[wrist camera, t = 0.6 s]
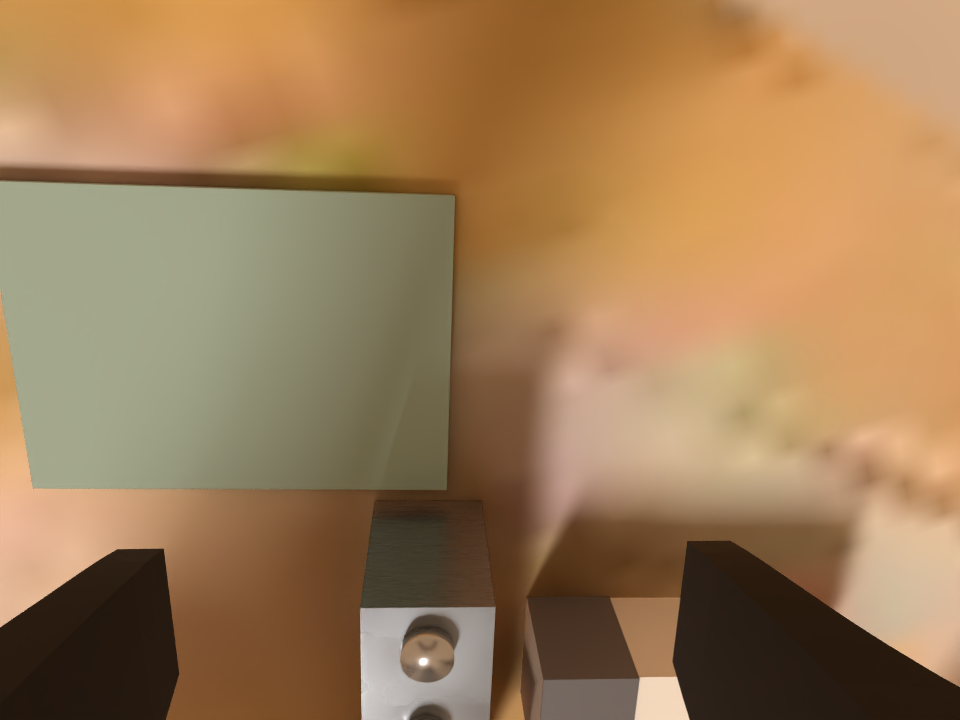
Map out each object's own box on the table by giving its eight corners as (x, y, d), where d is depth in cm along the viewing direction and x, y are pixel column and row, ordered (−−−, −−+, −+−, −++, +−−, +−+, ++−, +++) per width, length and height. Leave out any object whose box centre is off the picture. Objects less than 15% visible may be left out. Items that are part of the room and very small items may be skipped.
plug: (782, 687, 24) (838, 778, 21) (520, 691, 24) (535, 785, 20) (800, 594, 23) (862, 675, 20) (527, 596, 23) (543, 679, 19)
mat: (446, 484, 21) (447, 490, 21) (38, 483, 20) (33, 488, 20) (454, 194, 19) (455, 196, 18) (-11, 179, 18) (-18, 181, 18)
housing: (469, 774, 25) (479, 941, 20) (376, 776, 24) (363, 945, 20) (481, 500, 21) (496, 618, 17) (374, 500, 21) (358, 619, 16)
